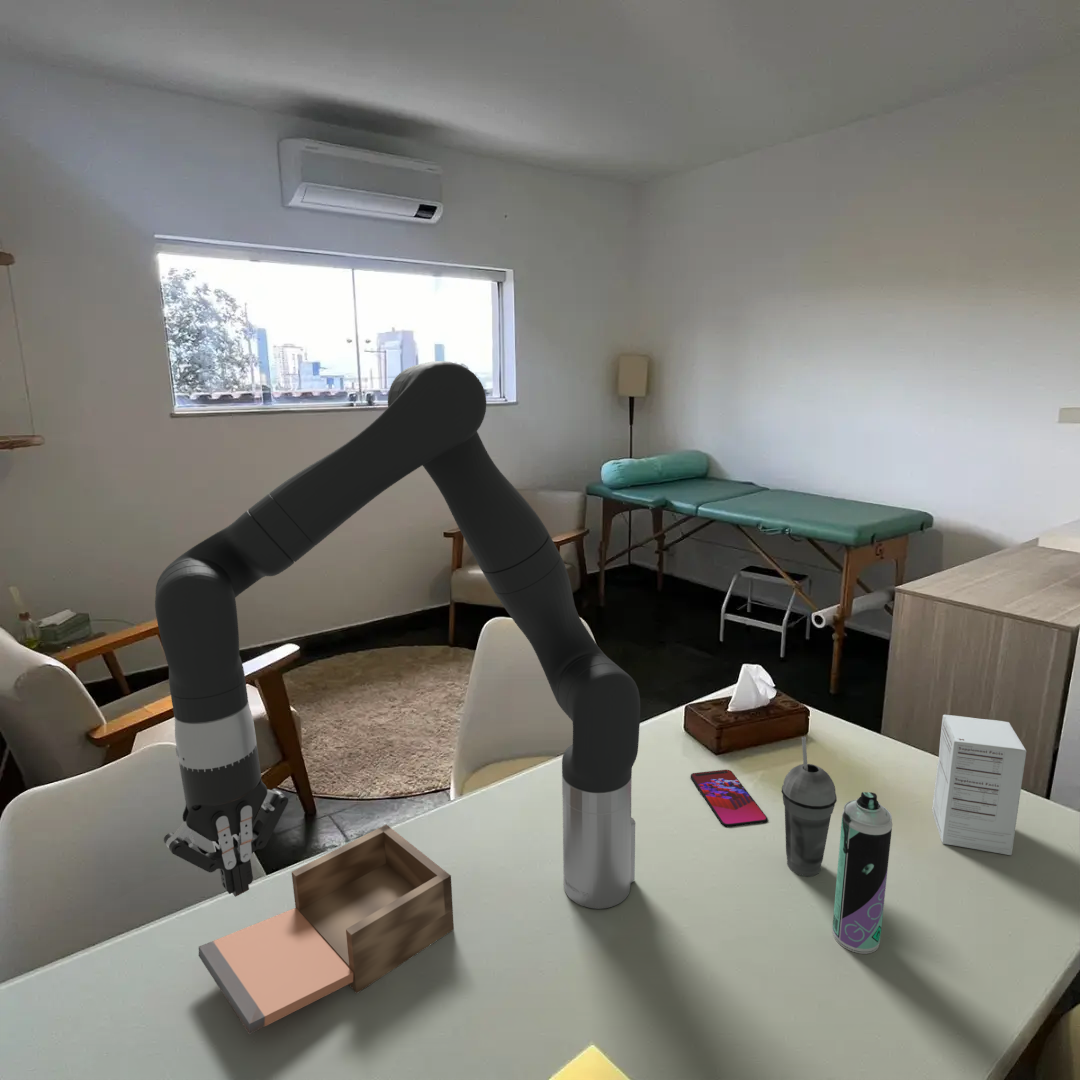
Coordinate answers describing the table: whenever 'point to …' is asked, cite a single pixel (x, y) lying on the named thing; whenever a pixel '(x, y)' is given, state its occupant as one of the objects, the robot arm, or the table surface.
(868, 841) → the spray can
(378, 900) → the box
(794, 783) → the beverage cup
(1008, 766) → the supplement box
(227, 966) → the panel
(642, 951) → the table surface
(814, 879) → the table surface
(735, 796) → the smartphone
